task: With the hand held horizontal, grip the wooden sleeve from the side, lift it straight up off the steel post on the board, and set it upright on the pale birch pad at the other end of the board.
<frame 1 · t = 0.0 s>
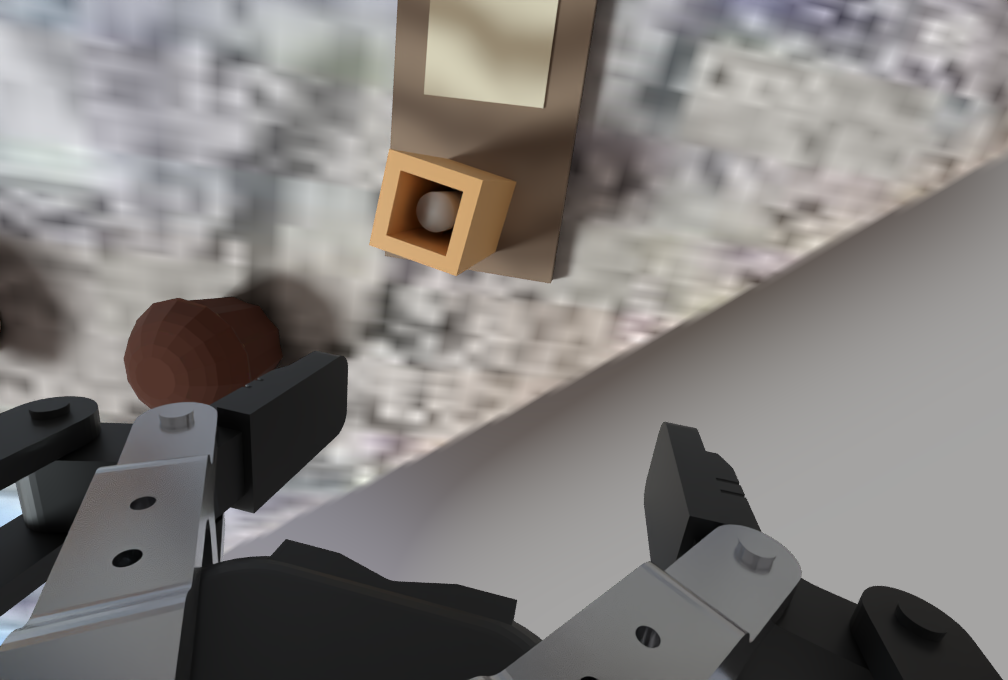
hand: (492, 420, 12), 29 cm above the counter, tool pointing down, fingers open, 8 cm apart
post board: (485, 125, 38), on the counter
muffin: (243, 340, 48), on the counter
sleeve: (472, 206, 38), point 1 cm above the counter, touching post board
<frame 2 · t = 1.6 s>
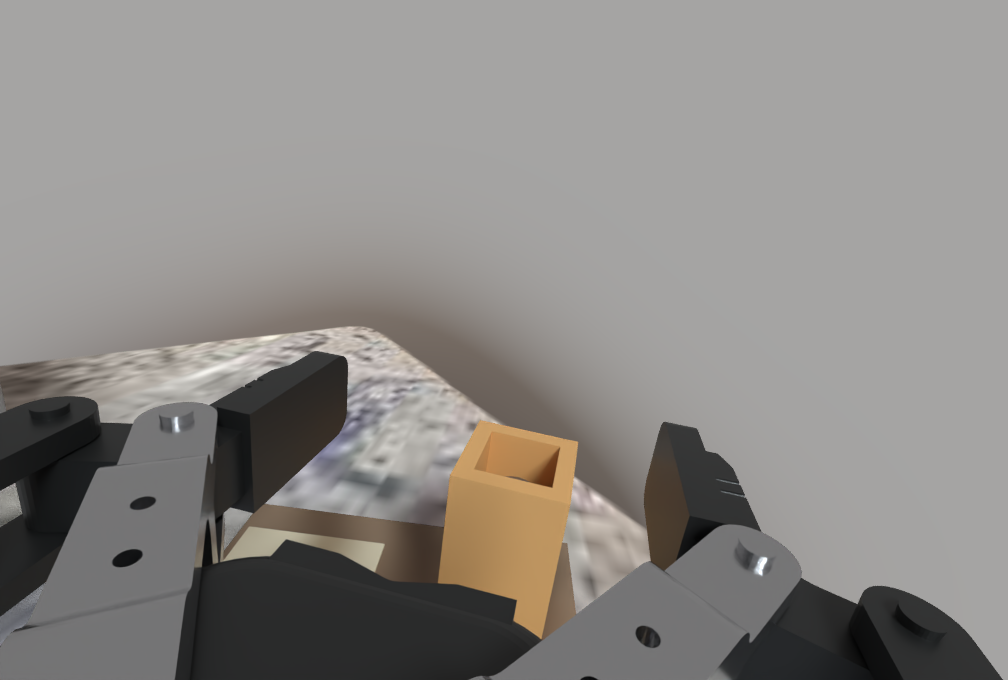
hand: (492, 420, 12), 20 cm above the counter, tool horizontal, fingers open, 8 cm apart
post board: (388, 625, 29), on the counter
sleeve: (492, 619, 29), point 1 cm above the counter, touching post board
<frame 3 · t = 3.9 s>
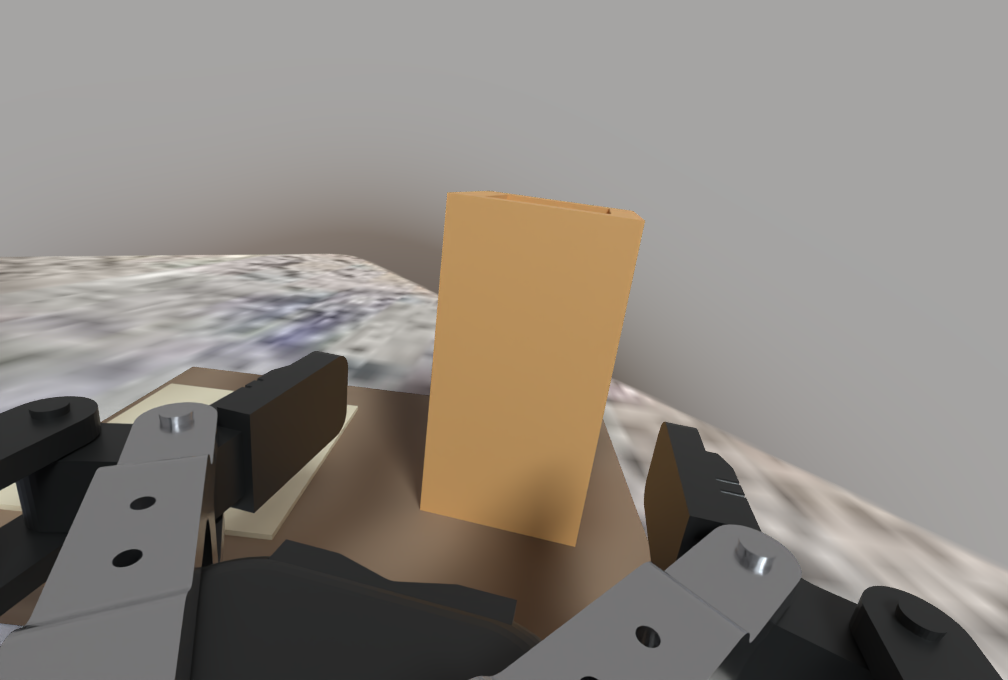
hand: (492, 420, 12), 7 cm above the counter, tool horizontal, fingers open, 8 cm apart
post board: (360, 496, 20), on the counter
sleeve: (509, 482, 20), point 1 cm above the counter, touching post board
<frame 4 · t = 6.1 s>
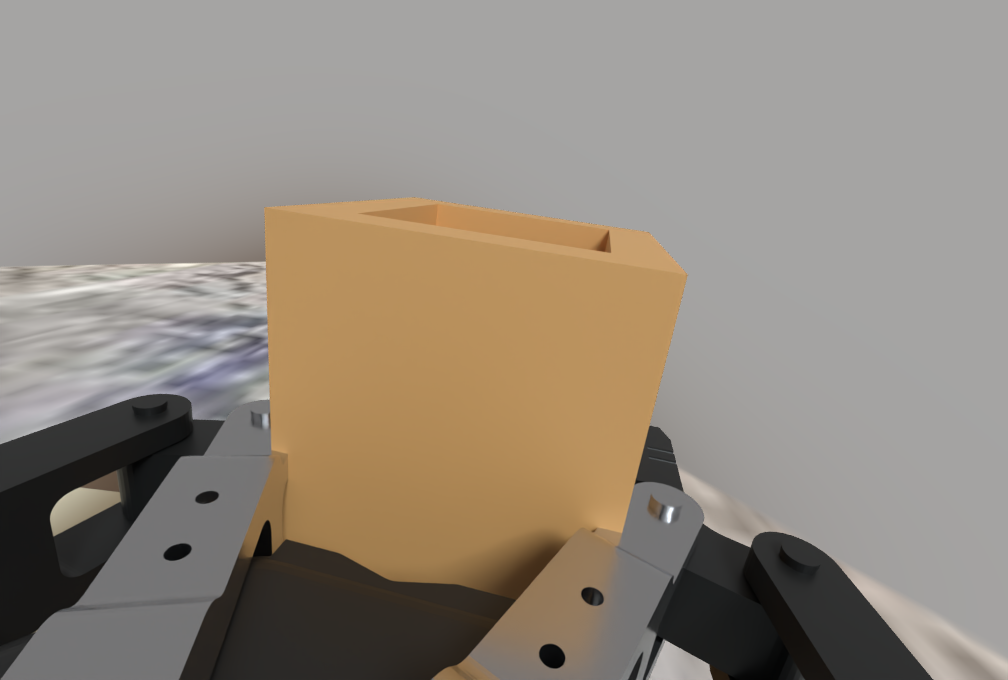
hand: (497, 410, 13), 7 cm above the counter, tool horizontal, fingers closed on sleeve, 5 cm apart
post board: (213, 679, 13), on the counter
sleeve: (448, 663, 12), point 2 cm above the counter, touching gripper, post board
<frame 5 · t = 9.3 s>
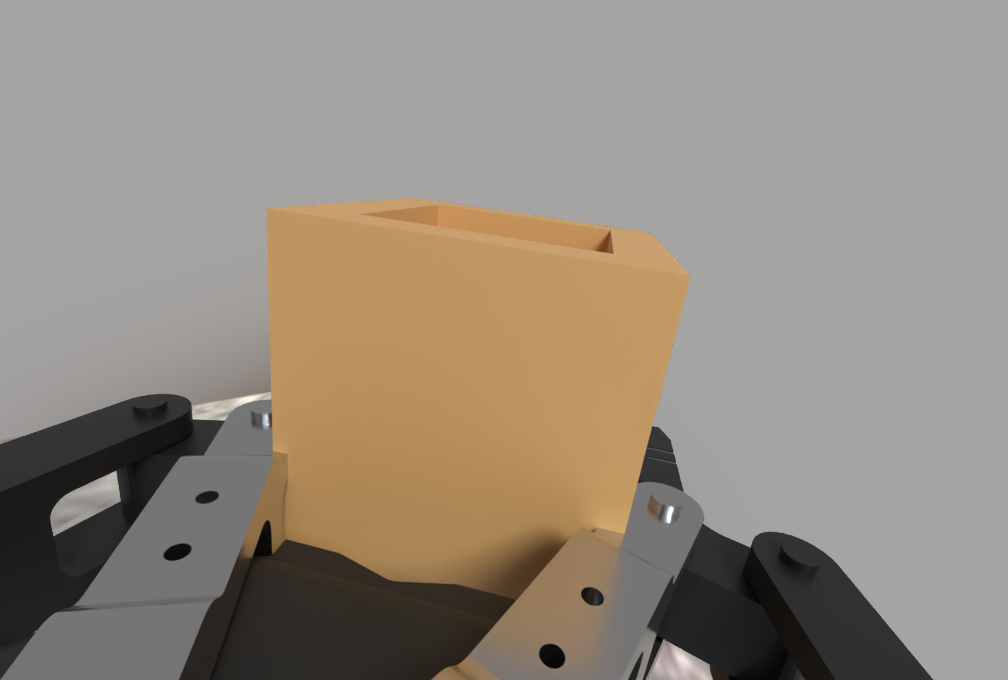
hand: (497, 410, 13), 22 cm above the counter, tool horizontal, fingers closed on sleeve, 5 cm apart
sleeve: (449, 664, 12), point 16 cm above the counter, touching gripper
when the fingers open (9 cm above the counter, at t = 12.8 s): sleeve drops 1 cm, resting on post board.
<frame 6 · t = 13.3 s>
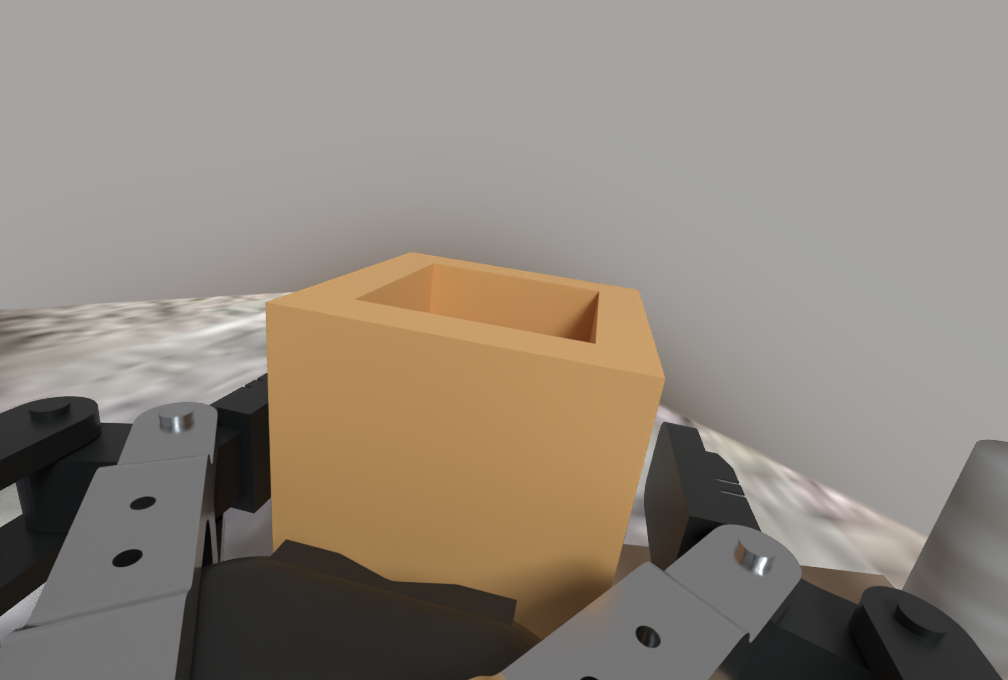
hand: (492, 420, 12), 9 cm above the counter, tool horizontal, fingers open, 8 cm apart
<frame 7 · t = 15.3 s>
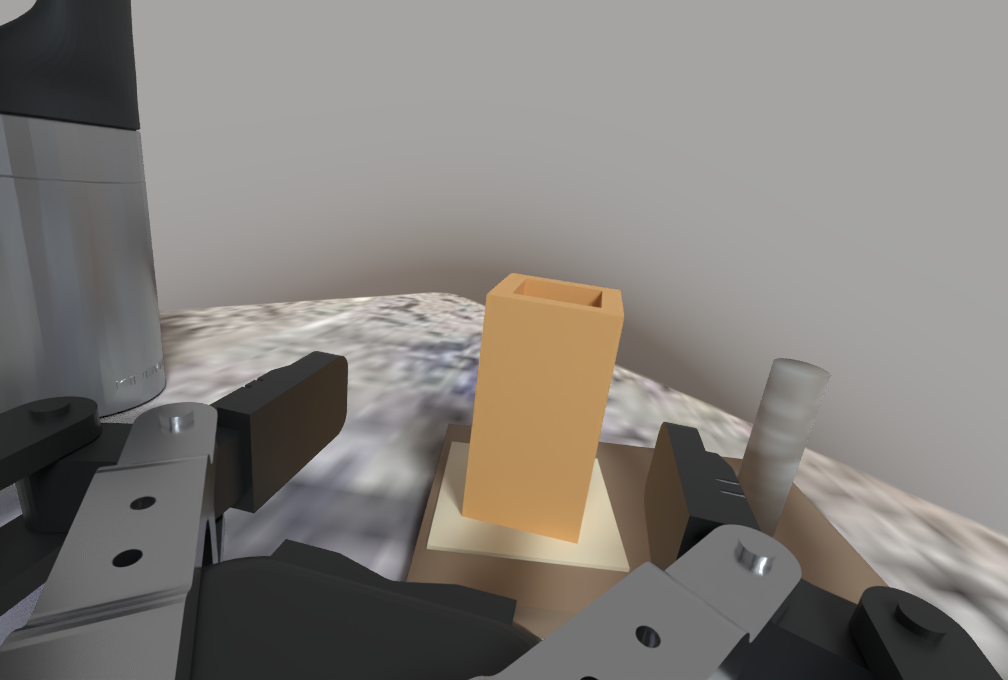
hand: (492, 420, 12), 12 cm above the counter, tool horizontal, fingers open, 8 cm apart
post board: (632, 534, 27), on the counter
sleeve: (527, 495, 26), point 2 cm above the counter, touching post board
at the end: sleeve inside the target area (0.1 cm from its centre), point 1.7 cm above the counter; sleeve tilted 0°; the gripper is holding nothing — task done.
